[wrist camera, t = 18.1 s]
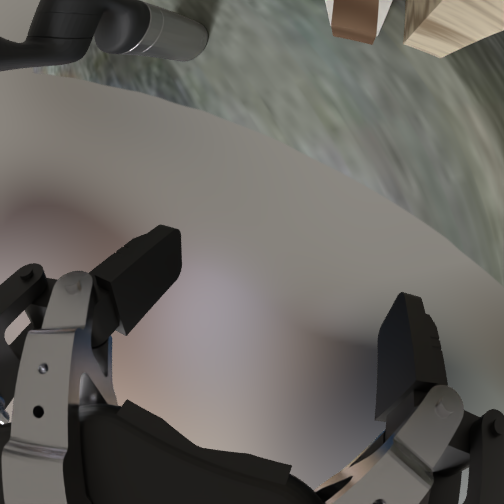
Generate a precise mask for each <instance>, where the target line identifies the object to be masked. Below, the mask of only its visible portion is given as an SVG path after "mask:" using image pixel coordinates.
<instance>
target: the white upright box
mask: <svg viewBox="0 0 504 504" xmlns="http://www.w3.org/2000/svg"><path fill="white" fill-rule="evenodd" d="M333 2H334V0H325V3H326V7H327V11H328V16H329V21H330V25H331V21H332V12H333ZM391 3H392V0H379V9H378V23H377V34H376V36H378V34H379V32H380V29H381V27H382V25H383V22H384V20H385V17H386V15H387V13H388V10H389V8H390V5H391Z"/></svg>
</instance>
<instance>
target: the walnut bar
mask: <svg viewBox="0 0 504 504" xmlns="http://www.w3.org/2000/svg"><path fill="white" fill-rule="evenodd" d="M378 9H379V0H334V2H333V12H332V21H331V27H332V32H333V36H335V37H341V38H346V39H350V40H355V41H359V42H363V43H367V44H371V45H372V44H373V42H374V40H375V37H376V34H377V23H378Z"/></svg>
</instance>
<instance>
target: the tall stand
mask: <svg viewBox="0 0 504 504" xmlns="http://www.w3.org/2000/svg"><path fill="white" fill-rule="evenodd" d="M503 30H504V0H406V5H405V27H404V41H403V44H405V45H408V46H411V47H413V48H416V49H419V50H421V51H424V52H427V53H429V54H431V55H434V56H436V57H439V58H442V57H444V56H446V55H448V54H450V53H452V52H454V51H457V50H459V49H461V48H463V47H465V46H467V45H469V44H472V43H474V42H476V41H478V40H481V39H483V38H485V37H488V36H490V35H493V34H495V33H498V32H500V31H503Z"/></svg>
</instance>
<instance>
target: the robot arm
mask: <svg viewBox="0 0 504 504" xmlns="http://www.w3.org/2000/svg"><path fill="white" fill-rule="evenodd" d="M93 36H95V42H96V44H97V46H98V48H99V49H100V50H101V51H103V52H106V53H111V54H128V55H140V56H149V57H156V58H164V59H170V60H176V61H189V60H192V59H194V58H195V57H197V56H198V55H199V54H200V53H201V52H202V51H203V49H204V48H205V46H206V43H207V39H208V33H207V30H206V28H205V27H204V26H203V25H202V24H201V23H199V22H196V21H194V20H192V19H190V18H187V17H185V16H182V15H180V14H177V13H175V12H172V11H169V10H166V9H164V8H161V7H158V6H155V5H152V4H149V3H145V2H142V1H139V0H40V2H39V5H38V7H37V10H36V13H35V15H34V17H33V20H32V23H31V26H30V29H29V32H28V36H27V38H26V41H25V42H23V43H16V42H12V41H9V40H6V39H4V38H2V37H0V71H5V70H12V69H19V68H29V67H41V66H53V65H63V64H69V63H73V62H76V61H78V60H80V59H81V58H82V57H83V56H84V55H85V54H86V52H87V50H88V48H89V46H90V43H91V41H92V37H93ZM181 268H182V255H181V233H180V231H179V230H178V229H175V228H171V227H168V226H164V225H158V226H157V227H155V228H154V229H153V230H151V231H150V232H149V233H147V234H144V235H141V236H139V237H136V238H134V239H132V240H131V241H129V242H128V243H127V244H125V245H124V247H121V248H120V249H119V250H117V252H116V253H114V254H113V255H111V256H110V257H108V258H107V259H106V260H105V261H103V262H102V263H101V264H99V265H98V266H97V267H96V268H94V269H93V270H92V271H91V272H89V273H87V272H83V271H73V272H70V273H67V274H65V275H63V276H62V277H60V278H59V279H58V280H55V279H50V278H46V276H45V273H44V270H43V267H42V266H41V265H39V264H35V263H33V264H28V265H25V266H23V267H22V268H20V269H19V270H17V271H16V272H15V273H14V274H13V275H11V276H10V277H9V278H8V279H7V280H6V281H4V283H2V284H1V285H0V423H1V424H0V504H458V501H459V493H460V485H461V473H462V471H463V470H464V469H466V468H468V467H469V479H468V490H467V496H466V499H465V501H464V503H463V504H504V415H503V414H502V413H501V412H500V411H498V410H495V409H492V410H489V411H487V412H486V413H485V414H484V415H482V416H481V417H478V416H476V415H473V414H471V413H469V412H467V411H465V410H464V405H463V402H462V399H461V397H460V396H459V394H458V393H457V392H456V391H455V390H454V389H453V388H451V387H449V386H448V383H447V377H446V371H445V365H444V359H443V354H442V351H441V345H440V341H439V335H438V331H437V327H436V325H435V323H434V322H433V320H432V318H431V317H430V315H428V314H425V310H424V306H423V302H422V299H421V297H418V296H414V295H411V294H407V293H404V292H401V293H400V294H399V295H398V296H397V298H396V300H395V302H394V303H393V305H392V307H391V309H390V311H389V313H388V314H387V316H386V318H385V320H384V321H383V323H382V325H381V328H380V330H379V334H378V368H377V394H376V409H375V420H376V421H383V422H386V429H385V430H384V431H382V432H381V433H380V434H379V435H378V437H376V439H375V440H374V441H373V442H372V443H371V444H370V445H369V446H368V447H367V448H366V449H364V450H363V451H362V452H361V453H360V454H359V455H358V456H357V457H356V458H355V459H354V460H353V461H352V462H350V463H349V464H348V465H347V466H346V467H345V468H344V469H342V470H341V471H340V472H339V473H337V474H335V475H334V476H332V477H331V478H330V479H328V480H327V481H325V482H324V483H322V484H321V485H320V486H319V487H317V488H316V489H314V490H312V489H311V488H310V487H309V486H308V485H307V484H305V483H304V482H303V481H301V480H300V479H298V478H297V477H295V476H293V475H291V474H289V473H290V470H291V467H292V466H291V465H288V464H283V463H279V462H275V461H272V460H268V459H264V458H260V457H257V456H254V455H251V454H246V453H236V452H228V451H220V450H213V449H206V448H201V447H199V446H196V445H195V444H193V443H192V442H191V441H189V440H188V439H187V438H185V437H184V436H183V435H182V434H180V433H179V432H178V431H177V430H175V429H174V428H173V427H171V426H170V425H169V424H168V423H167V422H166V421H164V420H163V419H162V418H160V417H158V416H156V415H154V414H152V413H151V412H149V411H147V410H145V409H143V408H141V407H139V406H138V405H136V404H134V403H133V402H131V401H129V400H126V401H125V403H124V404H123V405H122V407H121V406H118V404H117V399H116V395H115V392H114V389H113V383H112V336H111V334H112V333H113V332H114V331H115V330H116V331H118V332H120V333H122V334H123V335H125V336H127V335H128V334H129V332H130V331H131V330H132V329H133V328H134V327H135V326H136V324H137V323H138V322H139V321H140V320H141V319H142V318H143V317H144V315H145V314H146V313H147V312H148V311H149V310H150V309H151V307H152V306H153V305H154V304H155V303H156V302H157V301H158V300H159V299H160V297H161V296H162V295H163V294H164V293H165V292H166V291H167V290H168V289H169V287H170V286H171V285H172V284H173V283H174V282H175V281H176V280H177V278H178V277H179V275H180V272H181ZM24 310H25V312H26V314H27V316H28V317H29V319H30V321H31V323H30V324H29V325H28V326H27V327H26V328H25V329H24V330H23V331H22V332H21V334H20V335H19V336H18V337H17V338H16V339H15V340H14V341H13V342H12V343H11V344H10V345H8V344H7V343H6V341H5V338H4V333H5V330H6V328H7V327H8V326H9V325H10V324H11V323H12V322H13V321H14V320H15V319H16V318H17V317H18V316H19V315H20V314H21V313H22V312H23V311H24ZM13 398H14V402H13V411H12V422H11V423H8V422H9V414H8V412H6V410H5V409H6V407H7V406H8V404H9V403H10V402H11V400H12V399H13Z"/></svg>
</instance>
